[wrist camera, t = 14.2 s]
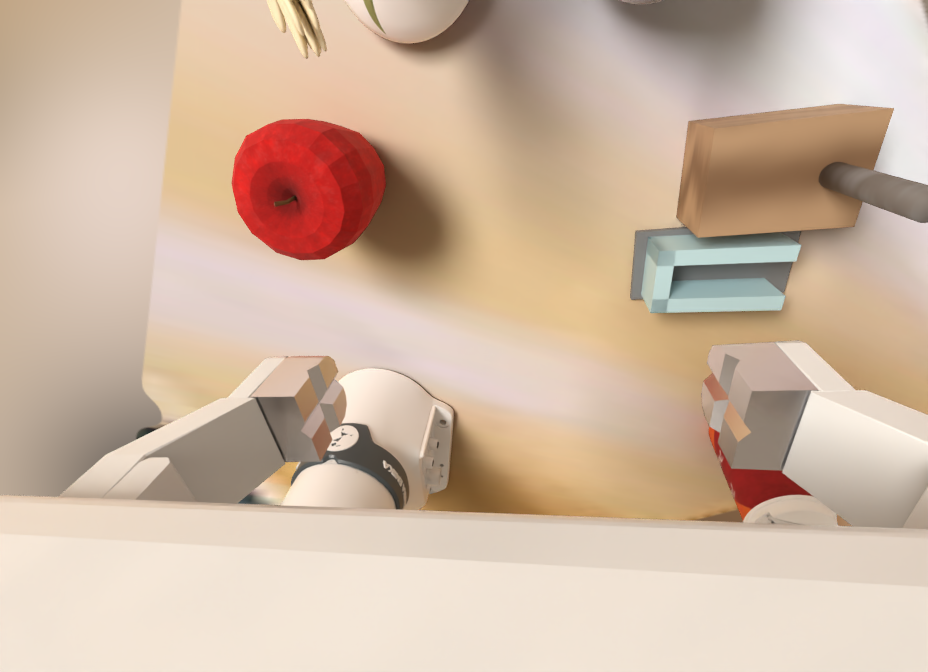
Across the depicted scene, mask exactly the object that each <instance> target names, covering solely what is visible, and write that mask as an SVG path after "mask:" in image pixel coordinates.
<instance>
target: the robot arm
mask: <svg viewBox="0 0 928 672" xmlns="http://www.w3.org/2000/svg"><path fill="white" fill-rule="evenodd" d="M707 364H708V365H709V367H710V369H711V370H712V372H713V373H712V374H711V375H710V376H709V377H707V378H706V379H705V380H704V381H703V388H702V394H701V395H702V408H703V412H704V415H705V418H706V420H707V422H708V424H709V426H710V427H711V428H713V429H714V430H716V431H718V432H719V433H720V435H719V439H718V444H719V446H720V448H721V450H722V452H723V454H724V455H725V457H726V459H727V461H728V463H729V465H730V467H731V469H756V470H780V471H782V473H783V474H785V475H786V476H787V477H788V478H790V479H791V480H792V481H794V482H795V483H796V484H798V485H799V486H800V487H802V488H803V489H804V490H806V491H807V492H808V493H810V494H811V495H812V496H814V497H815V498H816V499H818V500H819V501H820V502H821V503H823V504H824V505H825V506H827V507H828V508H829V509H831V510H832V511H833V512H835V513H836V514H838V515H839V516H840V517H841V518H843V519H844V520H845V521H847V522H848V523H849V524H851V525H852V526H853V527H850V526H825V525H798V524H771V523H744V522H717V521H690V520H663V519H636V518H609V517H583V516H557V515H531V514H505V513H478V512H452V511H426V510H419V509H421V508H422V507H423V506H424V505H425V504H426V502H427V499H428V495H429V494H432V493H436V492H439V491H441V490H443V489H445V488H446V487H447V484H448V481H449V470H450V457H451V445H452V432H453V419H454V411H453V409H452V408H451V407H450V406H449V405H447V404H445V403H443V402H441V401H439V400H437V399H435V398H433V397H432V396H430V395H429V394H428V393H427V392H426V391H425V390H424V389H423V388H422V387H421V386H420V385H418V384H417V383H416V382H414V381H413V380H411V379H410V378H408V377H406V376H404V375H402V374H399V373H396V372H393V371H390V370H385V369H377V368H369V369H361V370H357V371H354V372H351V373H349V374H347V375H346V376H344V377H343V378H341V379H340V380H339V381H338V382H337V381H336V380H335V377H336V375H337V373H338V369H337V367H336V364H335V361H334V359H332V358H331V357H329V356H291V357H288V356H282V357H270V358H265V359H264V360H263V361H262V363H261V364H260V365H259V366H258V367H257V368H256V369H255V370H254V371H253V372H252V373H251V374H250V375H249V376H248V377H247V378H246V379H245V380H244V381H243V382H242V383H241V384H240V385H239V386H238V387H237V388H236V389H235V390H234V391H233V393H232V394H231V395H230V396H229V397H228V398H220V399H218V400H216V401H214V402H212V403H210V404H208V405H206V406H204V407H202V408H200V409H198V410H196V411H194V412H192V413H190V414H188V415H186V416H184V417H182V418H180V419H178V420H176V421H174V422H171V423H169V424H167V425H165V426H163V427H161V428H159V429H157V430H155V431H153V432H151V433H149V434H147V435H145V436H143V437H141V438H139V439H137V440H135V441H133V442H131V443H129V444H127V445H125V446H123V447H121V448H119V449H117V450H115V451H113V452H111V453H109V454H106V455H105V456H104V457H103V458H102V459H100V460H99V461H98V462H97V463H96V464H95V465H94V466H93V467H91V468H90V469H89V470H88V471H87V472H86V473H85V474H83V475H82V476H81V477H80V478H79V479H78V480H77V481H76V482H74V483H73V484H72V485H71V486H70V487H69V488H68V489H66V490H65V491H64V492H63V493H62V494H61V495H60V496H58V497H48V496H21V495H0V672H928V415H926V414H924V413H921V412H919V411H916V410H914V409H911V408H909V407H906V406H904V405H901V404H899V403H896V402H894V401H891V400H889V399H886V398H884V397H881V396H879V395H876V394H874V393H871V392H869V391H866V390H855V389H854V388H853V387H852V386H851V385H850V384H849V383H847V382H846V381H845V380H844V379H843V378H842V377H841V376H840V375H839V374H838V373H837V372H836V371H835V370H834V369H833V368H832V367H831V366H830V365H829V364H827V363H826V362H825V361H824V360H823V359H822V358H821V357H820V356H819V355H818V354H817V353H816V352H815V351H814V350H813V349H812V348H811V347H810V346H809V345H808V344H806V343H805V342H802V341H799V340H797V341H781V342H767V343H748V344H729V345H713V346H712V348H711V350H710V352H709V356H708V361H707ZM442 420H445V421H442ZM285 462H299V464H298V465H297V467H296V471H295V473H294V475H293V477H292V481H291V488H290V489H289V491H288V493H287V494H286V496H285V498H284V500H283V501H282V503H281V505H258V504H237V503H238V502H239V501H241V500H242V499H243V498H244V497H245V496H247V495H248V494H249V493H250V492H251V491H253V490H254V489H255V488H256V487H258V486H259V485H260V484H261V483H262V482H264V481H265V480H266V479H267V478H269V477H270V476H271V475H272V474H273V473H275V472H276V471H277V470H278V469H279V468H281V467H282V466H283V465H284V464H285Z"/></svg>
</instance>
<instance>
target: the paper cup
mask: <svg viewBox="0 0 928 672" xmlns="http://www.w3.org/2000/svg"><path fill="white" fill-rule="evenodd" d="M719 435H720V433H719V432H718V431H716V430H714V429H713V428H711V427H709V436H710V439H711V442H712V445H713V448H714V450H715V453H716V455H717V458H718V460H719V463H720V465H721V468H722V470H723V473H724V475H725V478H726V480H727V483H728V485H729V488H730V490H731V492H732V495H733V497H734V500H735V502H736V505H737V507H738V510H739V512H740V515H741V517H742V520H743V522H744V523H771V524H798V525H825V526H838V523H837V514H836V513H835V512H833V511H832V510H831V509H829V508H828V507H827V506H825V505H824V504H823V503H821V502H820V501H819V500H818V499H816V498H815V497H814V496H812V495H811V494H810V493H808V492H807V491H806V490H804V489H803V488H802V487H800V486H799V485H798V484H796V483H795V482H794V481H792V480H791V479H790V478H788V477H787V476H786V475H785V474H783V473H782V471H780V470H756V469H731V467H730V465H729V463H728V461H727V459H726V457H725V455H724V454H723V452H722V450H721V448H720V446H719V444H718V439H719Z"/></svg>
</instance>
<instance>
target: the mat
mask: <svg viewBox="0 0 928 672" xmlns="http://www.w3.org/2000/svg"><path fill="white" fill-rule="evenodd" d="M781 233H782V234H784V235H786V236H787V237H789V238H791V239H792V240H794V241H795V242H797V243H798V240H799V236H800V233H801V230H800V231H786V232H781ZM674 235H694V233H692V232H691V231H690V230H689V229H688V228H687V227H680V228H667V229H653V230H640V231H636V232H635V245H634V257H633V269H632V282H631V294H630V298H631V300H633V299H643V297H642V295H641V291H642V283H643V275H644V267H645V259H646V251H647V243H648V237H653V236H674ZM792 262H793V261H791V262H764V263H738V264H711V265H685V266H674V269H673V275H672V281H685V280H716V279H746V278H765V279H766V280H767V281H769V282H770V283H771V284H772V285H773V286H774V287H776V288H777V289H778V290H779V291H780V292H784V291H785V287H786V283H787V280H788V276H789V273H790V269H791V265H792Z"/></svg>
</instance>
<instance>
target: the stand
mask: <svg viewBox="0 0 928 672" xmlns="http://www.w3.org/2000/svg"><path fill="white" fill-rule="evenodd" d="M893 110H894V108H883V107H870V106H858V105H846V104H834V105H826V106H817V107H808V108H800V109H791V110H782V111H773V112H765V113H756V114H747V115H739V116H730V117H721V118H712V119H704V120H695V121H689V122H688V130H687V138H686V146H685V153H684V161H683V169H682V177H681V185H680V193H679V201H678V209H677V216H676V217H677V218H678V219H679V220H680V221H681V222H682V223H683V224H684V225H685V226H686V227H687V228H688V229H689V230H690V231H691V232H692V233H694V234H695V235H696V236H697V237H698V238H700V237H715V236H729V235H743V234H757V233H772V232H786V231H800V230H814V229H829V228H843V227H854V226H855V223H856V220H857V217H858V214H859V211H860V208H861V205H862V202H865V203H868V204H871V205H874V206H876V207H879V208H882V209H884V210H887V211H890V212H892V213H895V214H898V215H901V216H903V217H906V218H909V219H911V220H914V221H917V222H920V223H927V222H928V185H925V184H921V183H918V182H914V181H910V180H906V179H903V178H899V177H895V176H891V175H888V174H884V173H880V172H877V171H873V169H874V166H875V163H876V160H877V158H878V155H879V152H880V149H881V146H882V143H883V140H884V137H885V134H886V131H887V128H888V125H889V122H890V119H891V116H892V113H893Z"/></svg>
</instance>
